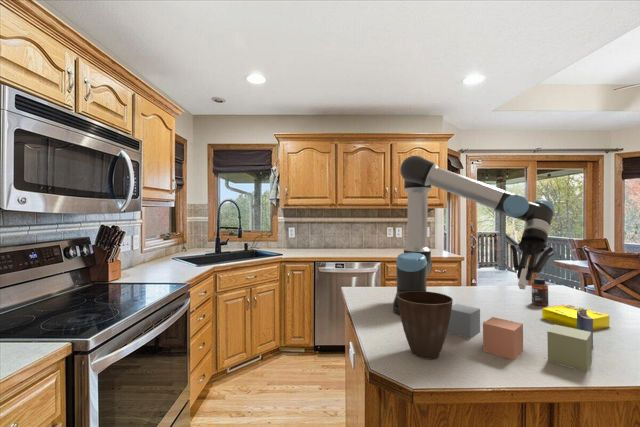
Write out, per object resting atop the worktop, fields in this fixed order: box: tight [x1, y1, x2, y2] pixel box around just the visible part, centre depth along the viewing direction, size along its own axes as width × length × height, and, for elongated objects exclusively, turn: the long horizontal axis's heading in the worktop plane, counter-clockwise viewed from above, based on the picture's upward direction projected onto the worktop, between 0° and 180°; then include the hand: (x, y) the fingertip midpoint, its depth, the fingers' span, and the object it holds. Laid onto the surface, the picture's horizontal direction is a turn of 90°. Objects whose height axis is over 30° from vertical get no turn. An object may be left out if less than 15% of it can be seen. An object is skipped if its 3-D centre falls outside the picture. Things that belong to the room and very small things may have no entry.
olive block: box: [546, 323, 593, 373], centre depth 82 cm, size 8×8×8 cm
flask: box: [577, 307, 594, 350], centre depth 93 cm, size 9×3×11 cm, turn 151°
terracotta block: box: [482, 316, 524, 361], centre depth 88 cm, size 8×8×8 cm
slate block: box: [447, 303, 481, 339], centre depth 102 cm, size 8×8×8 cm
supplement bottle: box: [531, 277, 549, 307], centre depth 134 cm, size 6×6×11 cm
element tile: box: [541, 304, 610, 331], centre depth 112 cm, size 15×15×5 cm
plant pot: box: [397, 290, 454, 360], centre depth 87 cm, size 15×15×16 cm
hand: (521, 286), depth 100 cm, fingers closed
